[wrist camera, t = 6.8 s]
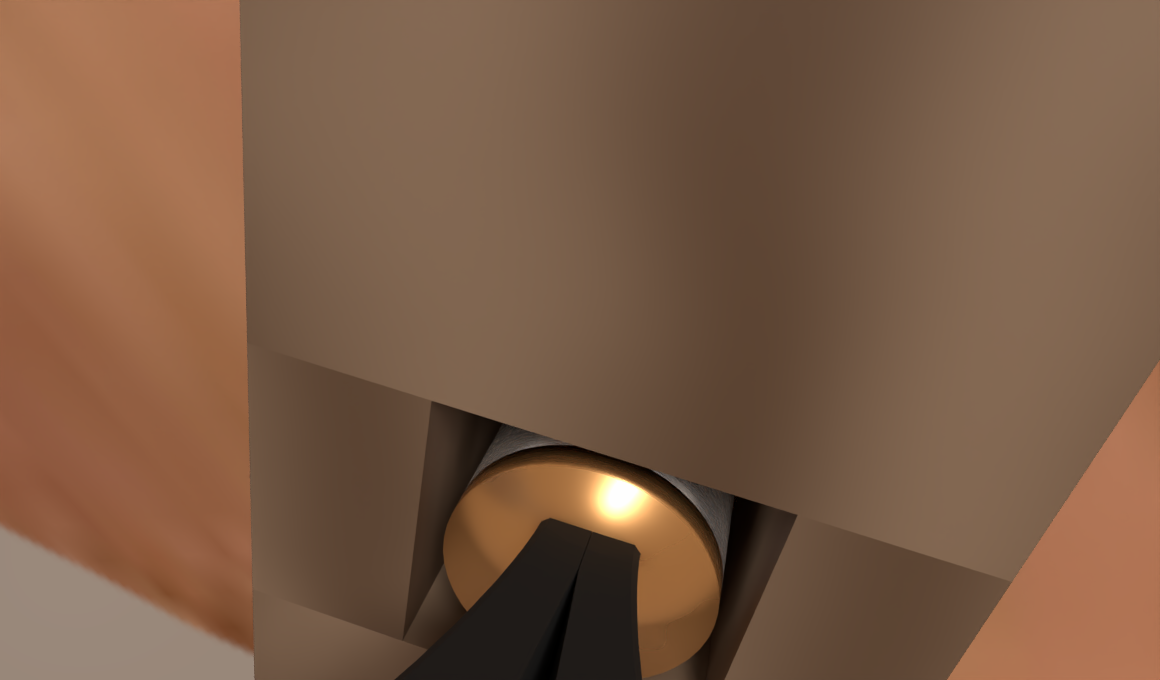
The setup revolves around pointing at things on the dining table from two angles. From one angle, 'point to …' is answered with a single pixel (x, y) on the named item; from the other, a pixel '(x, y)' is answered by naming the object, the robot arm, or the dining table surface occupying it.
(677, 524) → the peg
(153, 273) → the dining table surface
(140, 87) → the dining table surface
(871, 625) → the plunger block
